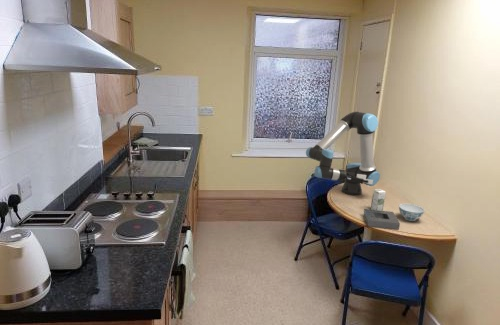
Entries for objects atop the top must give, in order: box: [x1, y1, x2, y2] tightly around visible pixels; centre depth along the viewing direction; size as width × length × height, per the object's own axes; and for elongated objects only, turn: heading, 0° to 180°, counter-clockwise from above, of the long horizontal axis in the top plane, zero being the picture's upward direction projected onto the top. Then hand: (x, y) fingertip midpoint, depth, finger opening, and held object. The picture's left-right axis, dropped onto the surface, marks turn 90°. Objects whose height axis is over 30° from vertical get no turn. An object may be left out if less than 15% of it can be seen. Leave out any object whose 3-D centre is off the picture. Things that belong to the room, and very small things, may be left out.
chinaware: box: [398, 202, 425, 222], centre depth 223 cm, size 15×15×8 cm
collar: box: [363, 208, 401, 230], centre depth 217 cm, size 18×18×4 cm
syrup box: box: [370, 188, 387, 211], centre depth 233 cm, size 6×6×14 cm
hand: (369, 179), depth 231 cm, fingers open, 13 cm apart
